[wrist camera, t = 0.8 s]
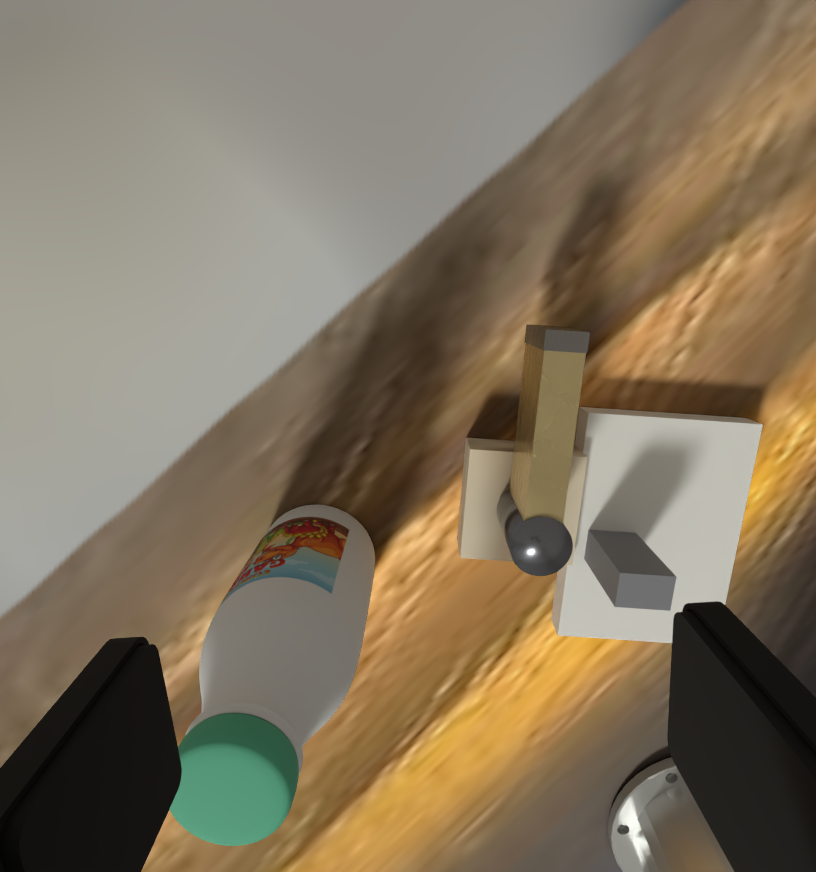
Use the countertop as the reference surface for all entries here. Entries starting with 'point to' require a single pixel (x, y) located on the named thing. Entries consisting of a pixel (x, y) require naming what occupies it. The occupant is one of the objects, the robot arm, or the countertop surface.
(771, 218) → the countertop surface
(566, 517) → the jamb block
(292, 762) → the milk bottle
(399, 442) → the countertop surface
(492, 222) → the countertop surface
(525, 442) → the bar
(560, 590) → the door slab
